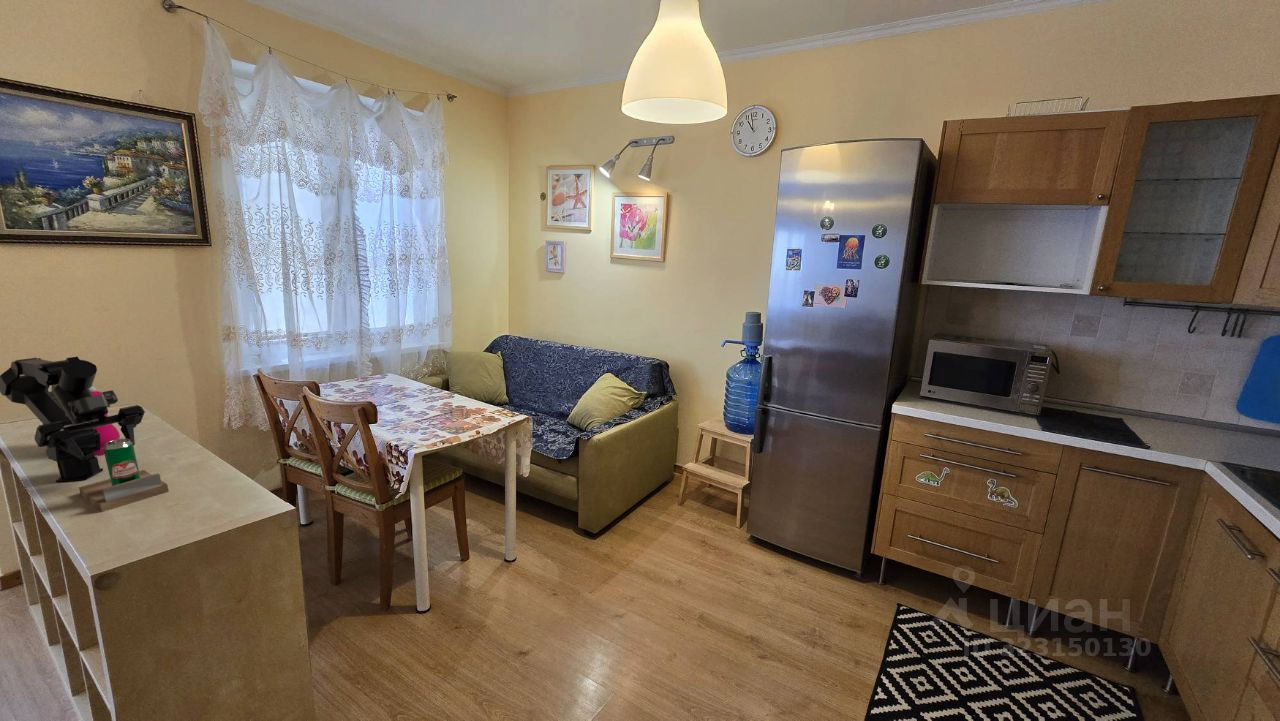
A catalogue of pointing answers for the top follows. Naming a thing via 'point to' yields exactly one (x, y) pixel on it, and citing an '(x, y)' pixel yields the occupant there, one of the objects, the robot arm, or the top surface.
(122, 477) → the soda can
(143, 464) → the top surface
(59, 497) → the top surface
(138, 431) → the top surface
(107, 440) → the pepper mill
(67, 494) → the top surface
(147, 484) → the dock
